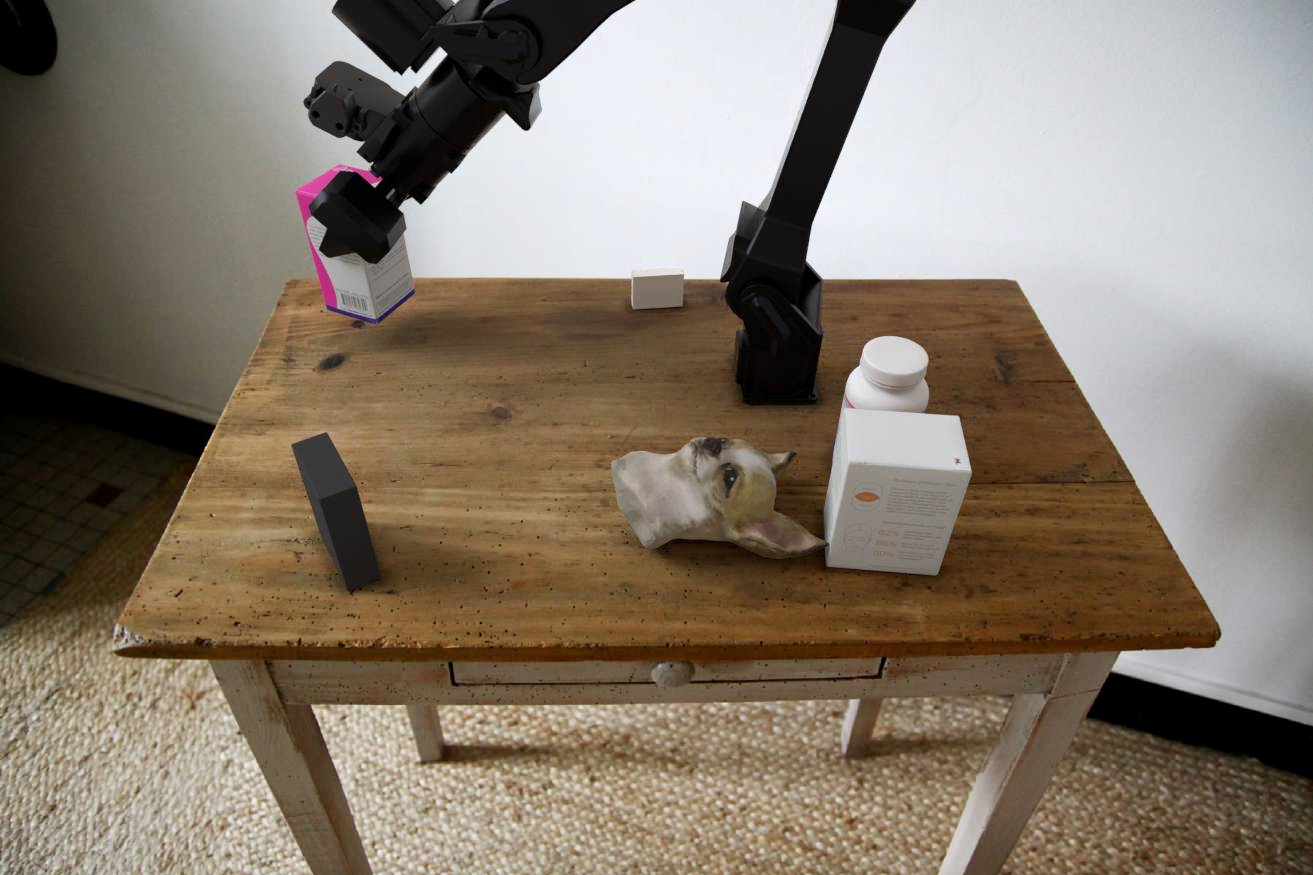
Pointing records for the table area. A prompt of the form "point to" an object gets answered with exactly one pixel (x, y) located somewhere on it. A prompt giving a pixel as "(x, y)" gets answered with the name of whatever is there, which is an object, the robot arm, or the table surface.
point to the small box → (894, 490)
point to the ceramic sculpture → (710, 497)
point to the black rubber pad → (337, 510)
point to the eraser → (657, 288)
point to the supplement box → (356, 264)
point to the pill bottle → (888, 378)
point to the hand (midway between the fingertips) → (341, 232)
